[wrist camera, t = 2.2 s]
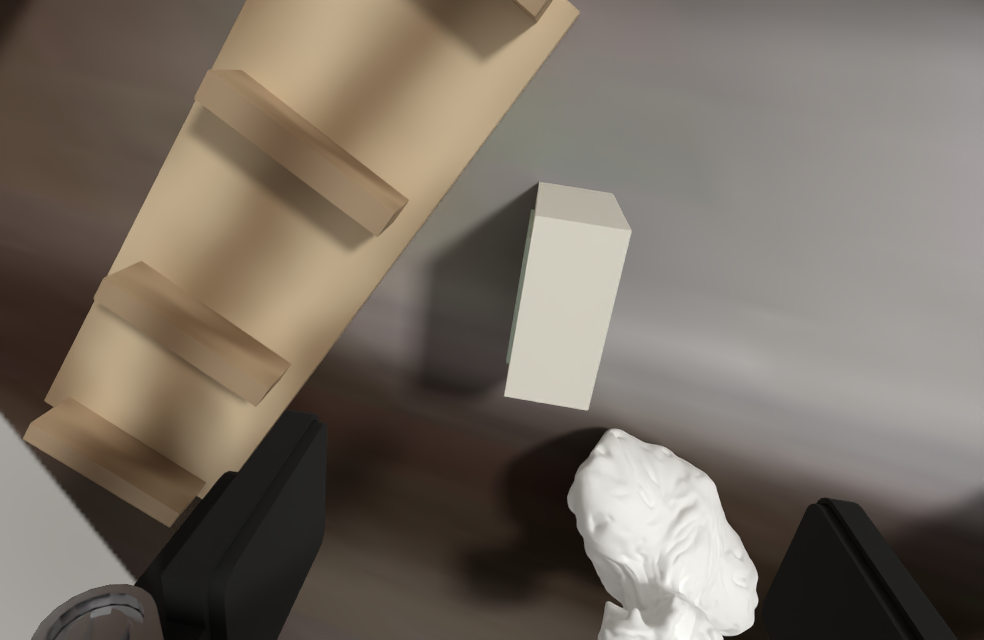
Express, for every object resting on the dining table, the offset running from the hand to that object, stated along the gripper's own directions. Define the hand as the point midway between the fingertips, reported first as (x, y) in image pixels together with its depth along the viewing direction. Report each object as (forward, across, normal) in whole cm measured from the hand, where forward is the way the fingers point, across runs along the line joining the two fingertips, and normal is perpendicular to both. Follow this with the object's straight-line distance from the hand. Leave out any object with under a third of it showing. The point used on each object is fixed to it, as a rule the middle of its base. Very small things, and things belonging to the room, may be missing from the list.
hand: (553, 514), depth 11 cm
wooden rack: (+17, +12, +1) cm, 21 cm away
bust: (+16, -8, +12) cm, 22 cm away
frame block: (+16, -1, 0) cm, 17 cm away
